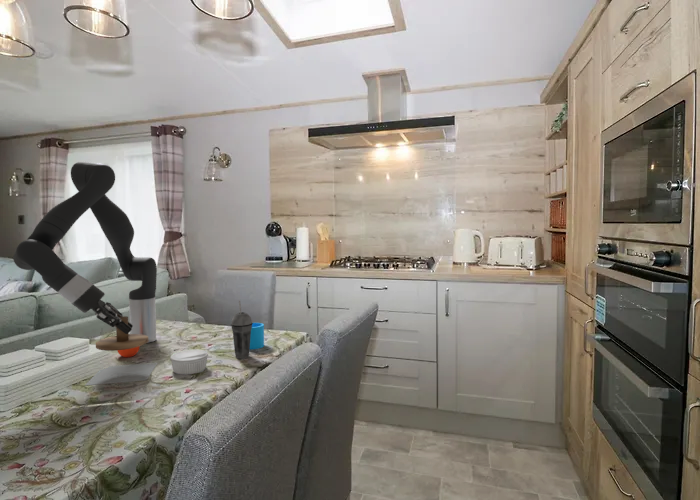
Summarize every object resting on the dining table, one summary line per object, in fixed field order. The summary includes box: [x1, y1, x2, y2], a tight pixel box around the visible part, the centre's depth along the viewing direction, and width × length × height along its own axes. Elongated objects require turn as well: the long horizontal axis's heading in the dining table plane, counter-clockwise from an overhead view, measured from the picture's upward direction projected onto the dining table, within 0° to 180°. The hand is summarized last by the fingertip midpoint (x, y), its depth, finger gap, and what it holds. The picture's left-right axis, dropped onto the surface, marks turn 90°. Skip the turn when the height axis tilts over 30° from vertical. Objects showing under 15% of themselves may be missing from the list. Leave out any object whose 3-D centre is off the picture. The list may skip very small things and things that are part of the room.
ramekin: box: [170, 348, 209, 375], centre depth 128 cm, size 11×11×5 cm
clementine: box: [116, 346, 141, 358], centre depth 142 cm, size 8×7×7 cm
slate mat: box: [84, 362, 158, 387], centre depth 125 cm, size 16×16×1 cm
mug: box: [250, 322, 265, 350], centre depth 156 cm, size 12×8×8 cm
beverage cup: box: [230, 299, 254, 360], centre depth 142 cm, size 7×7×20 cm
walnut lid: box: [95, 315, 148, 352], centre depth 124 cm, size 14×14×8 cm
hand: (129, 329), depth 125 cm, fingers closed on walnut lid, 3 cm apart
